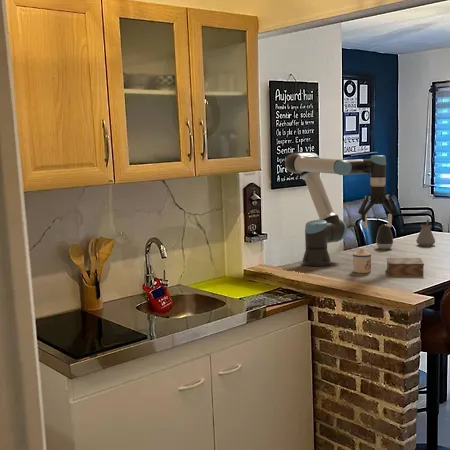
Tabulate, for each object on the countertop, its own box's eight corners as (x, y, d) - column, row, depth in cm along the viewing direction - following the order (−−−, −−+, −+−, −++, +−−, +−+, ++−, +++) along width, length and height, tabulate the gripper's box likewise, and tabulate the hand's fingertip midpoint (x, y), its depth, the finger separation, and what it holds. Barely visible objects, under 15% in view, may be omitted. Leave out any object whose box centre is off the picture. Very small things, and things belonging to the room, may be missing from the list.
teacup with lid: (368, 274, 287) (368, 250, 286) (350, 272, 292) (350, 249, 291) (375, 269, 298) (375, 246, 296) (357, 268, 302) (357, 246, 301)
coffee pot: (434, 247, 362) (434, 223, 360) (415, 246, 367) (415, 222, 365) (437, 242, 381) (437, 219, 380) (418, 241, 386) (419, 218, 384)
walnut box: (388, 276, 283) (388, 263, 282) (386, 269, 299) (386, 257, 298) (423, 276, 279) (424, 263, 278) (420, 270, 295) (420, 257, 294)
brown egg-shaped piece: (395, 247, 363) (395, 223, 362) (390, 250, 355) (390, 225, 353) (379, 246, 369) (379, 222, 367) (373, 249, 360) (373, 224, 358)
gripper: (358, 187, 292) (357, 229, 294) (404, 185, 297) (403, 226, 299) (351, 186, 299) (351, 227, 302) (396, 184, 304) (396, 225, 307)
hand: (377, 227), depth 301 cm, fingers open, 13 cm apart
